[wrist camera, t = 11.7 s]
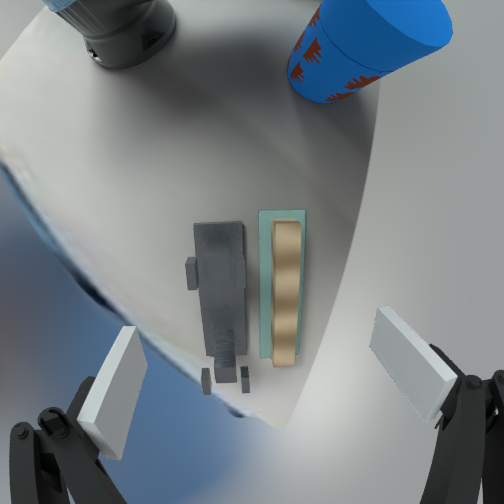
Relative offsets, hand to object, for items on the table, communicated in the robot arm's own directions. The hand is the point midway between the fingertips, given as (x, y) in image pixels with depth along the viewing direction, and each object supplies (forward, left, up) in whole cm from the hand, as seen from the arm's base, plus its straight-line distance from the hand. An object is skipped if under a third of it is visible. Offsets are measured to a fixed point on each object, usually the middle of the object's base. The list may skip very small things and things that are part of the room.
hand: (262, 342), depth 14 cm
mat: (+10, +7, -29) cm, 31 cm away
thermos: (-25, +13, -29) cm, 40 cm away
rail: (+10, +7, -28) cm, 31 cm away
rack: (+10, -3, -29) cm, 30 cm away
